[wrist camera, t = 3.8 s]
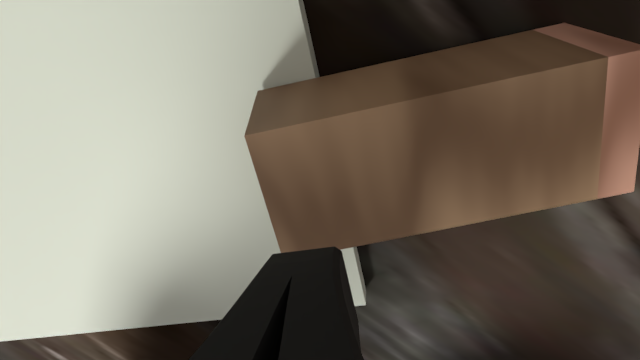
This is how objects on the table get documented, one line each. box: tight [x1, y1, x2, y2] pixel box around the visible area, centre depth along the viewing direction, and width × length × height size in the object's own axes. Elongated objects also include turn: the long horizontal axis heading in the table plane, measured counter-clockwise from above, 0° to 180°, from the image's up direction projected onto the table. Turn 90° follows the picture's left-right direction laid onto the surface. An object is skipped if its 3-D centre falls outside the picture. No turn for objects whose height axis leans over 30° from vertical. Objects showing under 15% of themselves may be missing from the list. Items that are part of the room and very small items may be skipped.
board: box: [0, 0, 366, 341], centre depth 18 cm, size 16×20×1 cm
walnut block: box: [244, 23, 640, 253], centre depth 14 cm, size 4×4×10 cm
